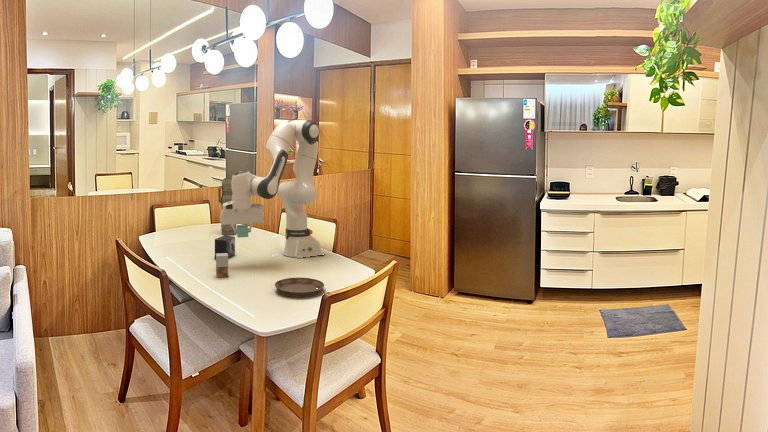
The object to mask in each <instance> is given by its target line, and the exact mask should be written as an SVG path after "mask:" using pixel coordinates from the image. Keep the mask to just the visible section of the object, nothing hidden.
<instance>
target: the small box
mask: <svg viewBox="0 0 768 432" xmlns="http://www.w3.org/2000/svg"><path fill="white" fill-rule="evenodd" d="M218 253H228V259H231V258H233V257H234V256H235V257H236V236H234V235H231V236H225V235H222V236H220V237H217V238H215V239H214V260H216V254H218Z"/></svg>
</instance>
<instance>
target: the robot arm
mask: <svg viewBox="0 0 768 432" xmlns="http://www.w3.org/2000/svg"><path fill="white" fill-rule="evenodd" d="M320 131H321V130H320V125H319V124H318V123H317V122H315V121H313V120H307V119H295V120H293V119H290V120H288V121H286V120H282V121H280V122H279V123H278V124H277V125H276V126H275V128H274V130H273V131H272V132H271V134H270V136H269V137H268V139H267V142H266V145H265V149H266V152H267V154H268V155H269V156H270V157H271V158H272V161H273V162H272V165H271V167H270V170H269V172H268V175H267V176H265V177H263V176H259V175H255V174H252V173H251V172H250V171H249V170H247V169H246V170H245V169H241V170H236V171H235V172H233V174H232V175H231V178H232V183H231V186H232V193H233V195H232V201H229V202H226V203H224V204H223V209H222V208H221V211H220V215H219V219H220V220H219V221H220V223H219V224H222V225H226V224H231V226H232V228H233V229H234V233H236V234H237V228H236V229H235V228H234V226H235V224H236V225H248V224H249V227H248V233H252V228H253V226H254V224H263V222H264V221H265V220H264V219H265V218H264V212H265V211H264V210H265V207H264V205H263V204H261V203H252V196H255V197H259V198H262V199H265V200H271V199H273V198H274V197H276V195H277V196H278V198H280V200H281V202H282V204H283V206H284V210H285V215H286V217H285V219H286V220H285V221H286V224H285V225H286V227H285V231H284V236H285V237H284V238H285V245H284V248H283V249H284V250H283V252H282V254H283V256H286V257H291V258H296V259H303V257H306V258H311V257H310V256H316V257H318V256H317V255H323V254H325V255H326V251H325V250H324V249H322V246H321V243H320V242H319V240H317V238H315V237H314V236H313V235H312V234H313V233H314V232H313V230H312V229H310V228H308V213H307V212H306V210H305V209H304V207H303V205H311V204H314V203H315V202H316V200H317V198H318V190H317V188H316V186H315V184H314V171H315V167H316V163H317V160H318V154H319V142H318V139H319V137H320V134H321V133H320ZM293 141H294V142H295V141H296V142H297V143H298V148H297V150H296V154H295V157H294V162H293V166H292V171H293V173H294V174H295V181H291V180H290V181H289V180H288V181H283V182H281V178H282V176H283V174H284V171H285V168H286V165H287V162H288V160H289V159H288V158H289V155H288V152H289V150H290V147H291V146H292V143H293ZM280 182H281V183H280Z"/></svg>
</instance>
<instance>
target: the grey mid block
mask: <svg viewBox="0 0 768 432" xmlns="http://www.w3.org/2000/svg"><path fill="white" fill-rule="evenodd" d="M216 267H228V268H229V258H228V253H218V254H216V259H215V268H216Z"/></svg>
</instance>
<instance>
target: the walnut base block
mask: <svg viewBox="0 0 768 432" xmlns="http://www.w3.org/2000/svg"><path fill="white" fill-rule="evenodd" d="M215 272H216V273H215V275H216V278H217V279H218V278H219V279H221V278H229V266H228V267H216V266H215Z"/></svg>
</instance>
